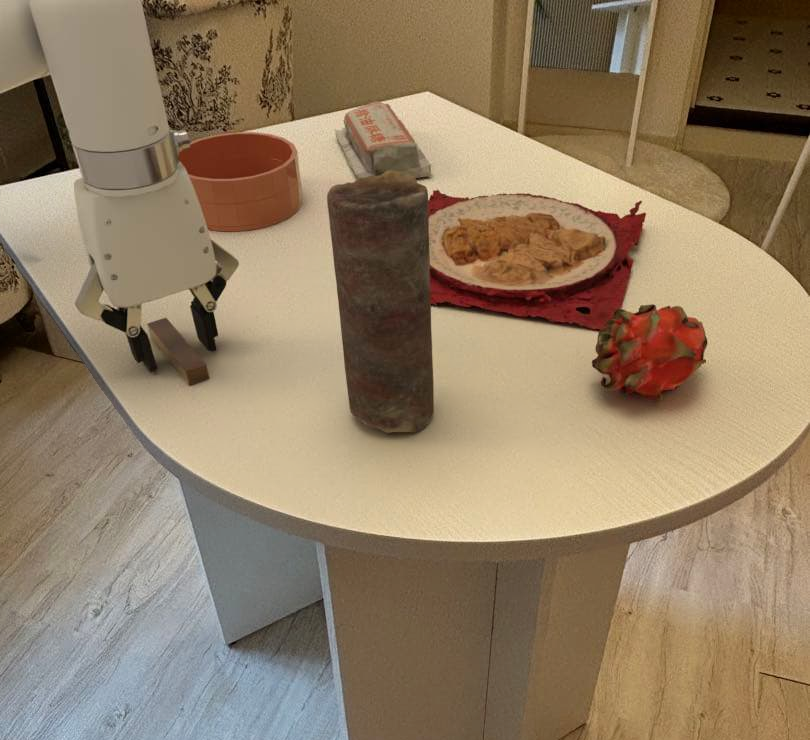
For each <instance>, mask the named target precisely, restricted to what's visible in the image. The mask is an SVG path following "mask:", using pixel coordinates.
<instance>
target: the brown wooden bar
mask: <svg viewBox="0 0 810 740" xmlns="http://www.w3.org/2000/svg"><path fill="white" fill-rule="evenodd" d="M146 325H147V329H148V333H149V336H150V338H151V340H152V341H153V342H154V344H156V346H157V347H158V348H159V350H160V351H161V352H162V354H163V355H164V356H165V357H166V358H167V359H168V361H169V362H170V363H171V365H173V367H174V368H175V369H176V371H177V372H178V373H179V374H180V376H181V377H182V378H183V379H184V381H185V382H186V383H187V384H188V385H189V386H193V385H196V384H198V383H201V382H204V381H207V380H209V379H210V375H209V370H208V366H207V363H205V361H204V360H203V359H202V358H201V356H200V355H199V354H198V353H197V352H196V351H195V350H194V349H193V347H192V346H191V345H190V343H188V341H187V340H186V339H185V338H184V336H183V335H182V334H181V333H180V331H178V330H177V329H176V327H175V326H174V325H173V324H172V323H171V321H170V320H169V319H168V318H167V317H163V318H160V319H156V320H154V321H150V322H147V323H146Z"/></svg>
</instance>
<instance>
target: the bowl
mask: <svg viewBox="0 0 810 740" xmlns="http://www.w3.org/2000/svg"><path fill="white" fill-rule="evenodd" d="M178 159H179V161H180V162H181V163H182V165H183V166H184V167H185V169H186V171H187V173H188V175H189V177H190V180H191V182H192V185H193V187H194V190H195V192H196V195H197V198H198V201H199V204H200V206H201V209H202V212H203V215H204V219H205V222H206V225H207V228H208V231H217V232H244V231H245V232H246V231H253V230H258V229H262V228H267V227H271V226H274V225H277V224H279V223H281V222H283V221H285V220H287V219H289V218H291V217H292V216H293V215H295V214H296V213H297V212H298V211H299V210H300V208H301V206H302V203H303V191H302V190H303V189H302V180H301V172H300V171H301V170H300V164H299V163H300V162H299V153H298V149H297V148H296V146H295V144H294V143H293V142H291V141H290V140H288V139H286V138H285V137H282V136H279V135H275V134H272V133H271V134H270V133H266V132H265V133H263V132H256V131H255V132H254V131H243V132H242V131H234V132H228V133H227V132H226V133H219V134H214V135H210V136H205V137H202V138H197V139H194V140H193V141H190V147H189V148H185V149H182V151H180V152H179V156H178Z"/></svg>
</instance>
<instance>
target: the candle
mask: <svg viewBox="0 0 810 740" xmlns="http://www.w3.org/2000/svg"><path fill="white" fill-rule="evenodd" d="M428 200H429V192H428V188H427V186H426V185H424V184H422V183H419V182H418V181H417V178H416V177H415V176H411V175H409V174H407V173H403V172H397V171H393V170H390V171H386V172H385V173H383V174H382V175H380V176H372V177H367V178H361V179H356V180H355V181H353V182H346V183H338V184H335V185H333V186H331V187H330V188H329V190H328V191H327V195H326V203H327V204H326V205H327V211H328V221H329V231H330V239H331V248H332V256H333V257H332V258H333V267H334V276H335V283H336V294H337V303H338V311H339V323H340V333H341V342H342V352H343V363H344V371H345V380H346V381H345V383H346V390H347V397H348V405H349V410H350V413H351V414H352V415H353V417H355V418H356V419H357V420H359V421H360V422H362V423H363V425H365V426H367V427H370V428H374V429H377V430H380V431H382V432H384V433H386V434H387V433H412V434H415V433H418V432H420V431H422V430H423V429H424V428H426V427H427V426H428V425H429V423H430V421H431V419H432V417H433V415H434V412H435V405H434V399H435V398H434V397H435V396H434V368H433V367H434V363H433V337H432V333H433V332H432V304H431V299H430V252H429V216H428Z"/></svg>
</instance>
